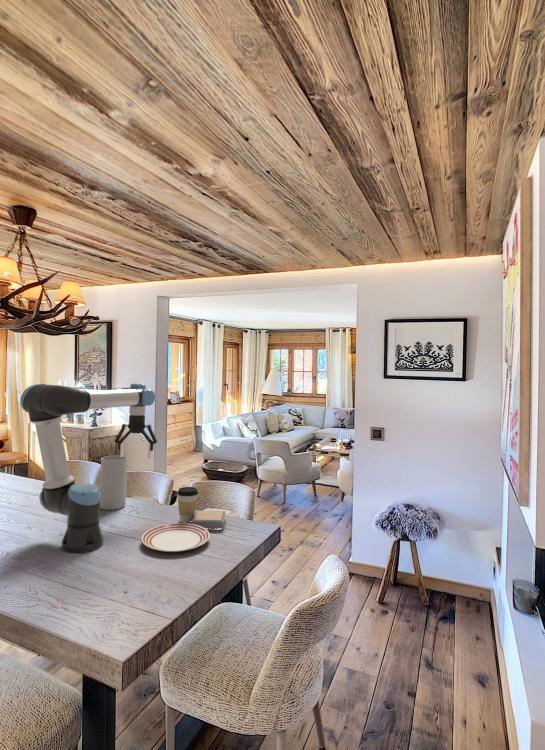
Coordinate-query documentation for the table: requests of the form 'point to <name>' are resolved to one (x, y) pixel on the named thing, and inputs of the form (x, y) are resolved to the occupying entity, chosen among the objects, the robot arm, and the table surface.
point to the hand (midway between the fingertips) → (135, 457)
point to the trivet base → (209, 519)
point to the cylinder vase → (113, 482)
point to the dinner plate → (175, 537)
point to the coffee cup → (187, 503)
